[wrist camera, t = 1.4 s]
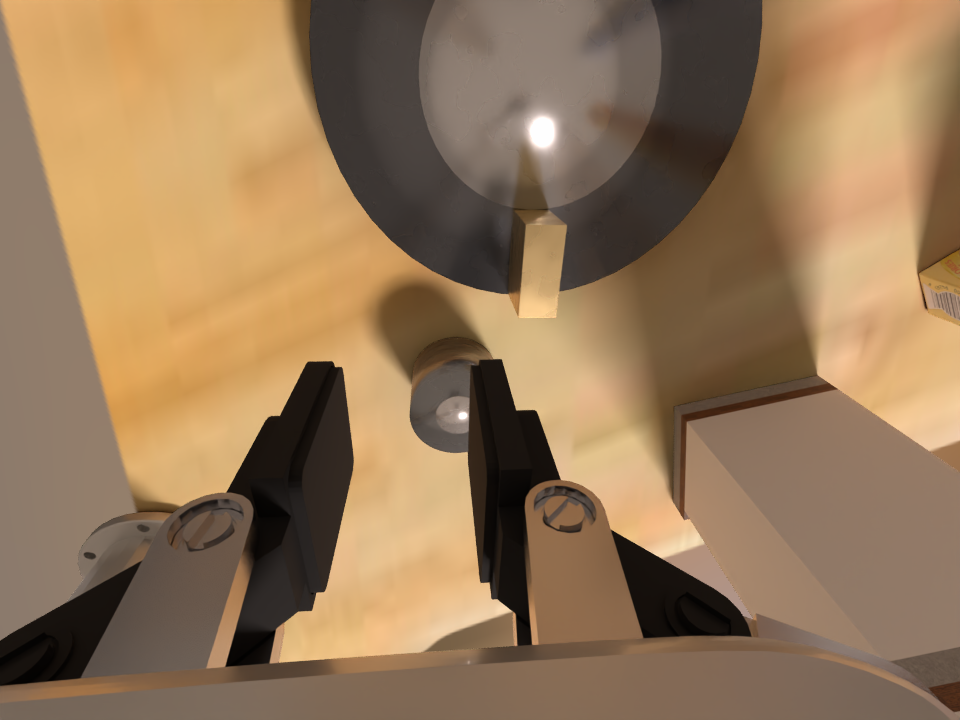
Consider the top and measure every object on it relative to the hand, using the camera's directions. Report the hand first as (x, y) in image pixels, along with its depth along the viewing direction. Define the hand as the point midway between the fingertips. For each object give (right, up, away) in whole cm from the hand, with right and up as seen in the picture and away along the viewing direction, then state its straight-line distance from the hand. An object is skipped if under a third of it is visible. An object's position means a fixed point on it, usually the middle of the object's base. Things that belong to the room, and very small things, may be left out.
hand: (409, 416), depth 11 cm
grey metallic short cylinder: (0, 0, +22) cm, 22 cm away
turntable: (+5, +16, +14) cm, 22 cm away
